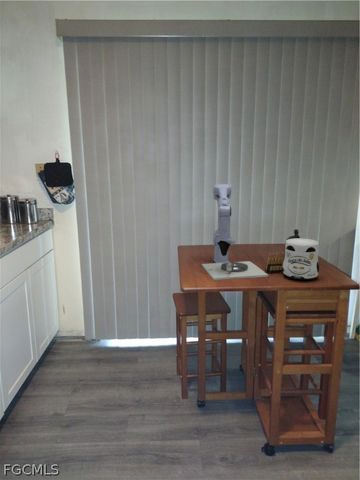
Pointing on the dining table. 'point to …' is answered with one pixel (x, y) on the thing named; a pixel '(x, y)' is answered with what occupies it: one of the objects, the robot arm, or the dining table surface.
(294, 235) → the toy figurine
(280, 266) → the ammunition clip
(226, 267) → the dial
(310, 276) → the milk container
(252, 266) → the dial plate
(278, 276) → the dining table surface
